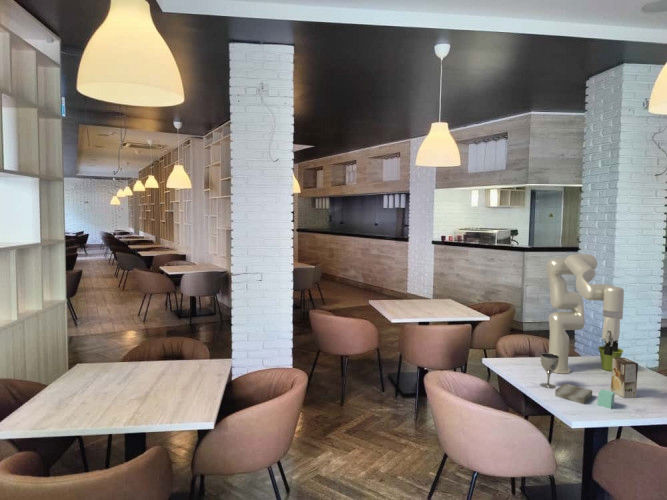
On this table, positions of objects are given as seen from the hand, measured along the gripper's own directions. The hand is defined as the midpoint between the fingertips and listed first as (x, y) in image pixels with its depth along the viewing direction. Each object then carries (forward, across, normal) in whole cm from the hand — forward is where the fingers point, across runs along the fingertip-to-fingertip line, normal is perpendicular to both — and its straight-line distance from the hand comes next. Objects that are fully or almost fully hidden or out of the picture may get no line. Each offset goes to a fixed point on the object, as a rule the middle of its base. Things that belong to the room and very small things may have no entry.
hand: (610, 352), depth 200 cm
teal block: (+22, +5, 0) cm, 23 cm away
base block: (+22, +5, -13) cm, 26 cm away
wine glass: (+22, -1, -26) cm, 34 cm away
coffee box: (+22, -16, +2) cm, 28 cm away
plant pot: (+21, -51, -11) cm, 57 cm away
